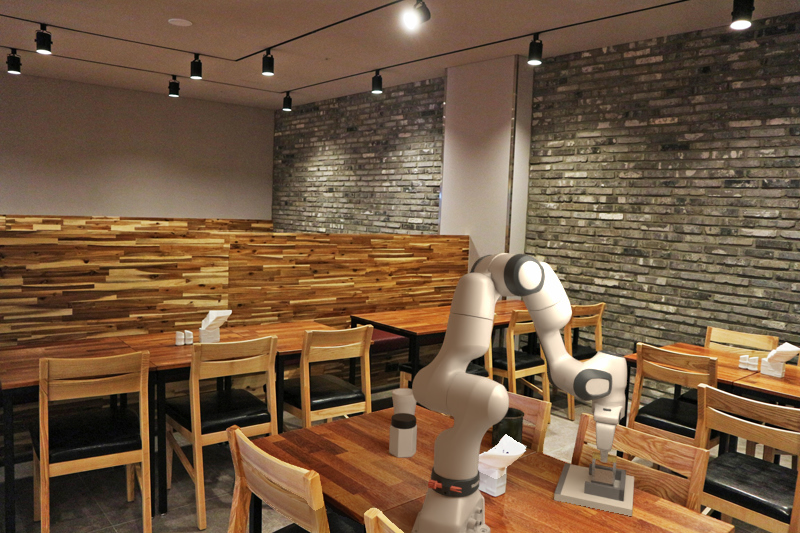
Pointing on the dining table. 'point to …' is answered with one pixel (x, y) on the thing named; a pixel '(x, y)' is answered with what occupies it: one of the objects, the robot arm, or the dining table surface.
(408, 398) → the foam cup
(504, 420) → the mug
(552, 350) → the robot arm
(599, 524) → the dining table surface
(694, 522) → the dining table surface
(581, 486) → the dock
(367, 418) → the dining table surface
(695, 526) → the dining table surface
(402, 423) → the jar
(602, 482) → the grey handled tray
